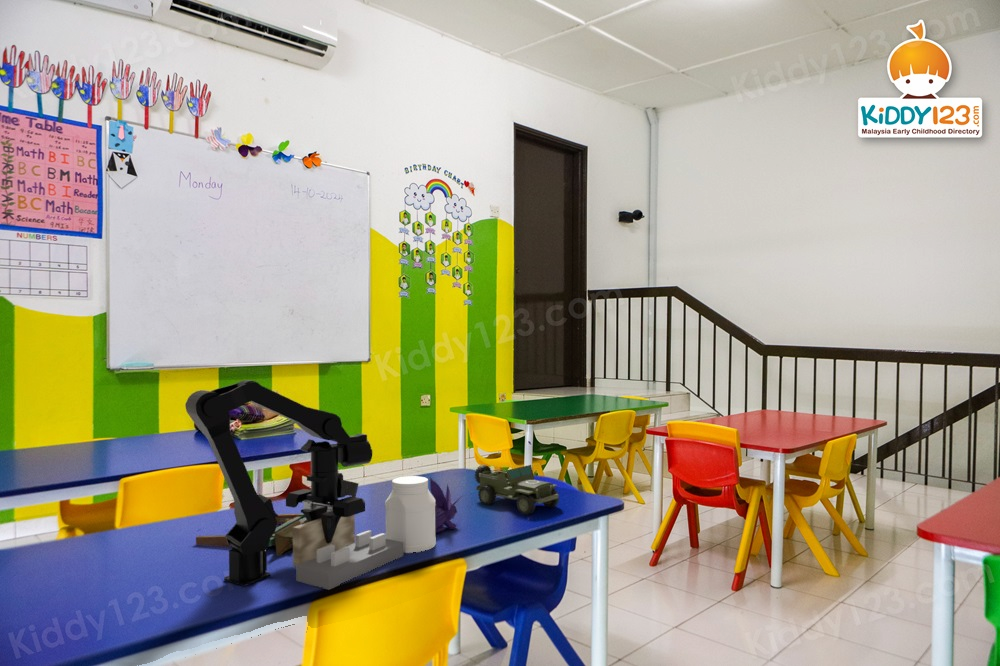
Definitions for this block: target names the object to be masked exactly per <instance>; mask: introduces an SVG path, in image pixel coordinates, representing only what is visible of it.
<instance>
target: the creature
mask: <svg viewBox="0 0 1000 666" xmlns="http://www.w3.org/2000/svg"><path fill="white" fill-rule="evenodd" d="M429 481H430V483H429V486H430V493H431V494H432V496H433V497H434V498H435V534H436V533H437V534H438V533H440V532H443V531H445V529H446V528H447V529H449V530H454V529H456V528H457V526H459V524H458V523H454V522H452V521H451V520H453V519H455V516H456V514H458V510H457V508H456V506H455V505H456V504H457V503H458V501H459V500H461V498H463V495H464V494H462V495H461V496H460V497H458V498H457V499H456V500H454V501H451V500H452V498H451V497H452V495H451V491H450V488H449V485H448V484H449V483H447V484H446V490H445V491H446V492H445V493H444V491H443V490H442V488H441V486H440V485H439V484H438V482H436V481H435V480H434V478H432V477H431V476H429Z"/></svg>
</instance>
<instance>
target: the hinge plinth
mask: <svg viewBox="0 0 1000 666" xmlns="http://www.w3.org/2000/svg"><path fill="white" fill-rule="evenodd" d="M372 532H373V531H372V530H370V529H369V530H366V531H362V532H360V533H358V534H355V543H353V544H351V545H348V546H346V547H343V548H340V549H338V550H335V545H333V544H331V545H328V546H325V547H323V548H320V549H317V558H315V559H312V560H310V561H307V562H304V563H302V564H299V565H297V566H295V573H296V574H295V578H296V579H295V581H296V582H299V583H303V584H306V585H310V586H313V587H317V586H318V588H321V587H323V588H322V589H325V590H328V591H329V590H332V589H334V588H336V587H338V586H341V585H342V584H341V583H343V582H345V581H347V580H349V581H351V580H350V579H352V578H354V577H356V578H358V577H360V576H362V575H361V574H363V575H365V574H367V573H369V572H371V570H372V571H373V569H374V570H376V569H378V568H380V567H382V565H383V566H384V564H385V565H387V564H389V563H391V562H393V560H394V561H395V559H396V560H399V559H401V558H403V557H404V552H403V542H399V541H394V540H389V539H386V533H383V532H381V533H378V534H375V535H372V534H373V533H372ZM390 561H391V562H390ZM388 562H389V563H388ZM386 563H387V564H386ZM377 567H378V568H377ZM375 568H376V569H375ZM368 571H369V572H368ZM366 572H367V573H366ZM364 573H365V574H364ZM359 575H360V576H359ZM357 576H358V577H357ZM354 579H355V578H354ZM352 580H353V579H352ZM347 582H348V581H347ZM345 583H346V582H345ZM340 584H341V585H340ZM343 584H344V583H343Z"/></svg>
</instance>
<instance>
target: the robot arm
mask: <svg viewBox="0 0 1000 666" xmlns="http://www.w3.org/2000/svg"><path fill="white" fill-rule="evenodd" d="M247 403H252V404H254V405H257V406H259V407H260V408H263V409H266V410H267V411H269V412H272V413H274V414H276V415H279V416H280V417H283V418H285V419H288V420H290V421H291V422H293V423H294V424H295V425H297V426H298V427H299V428H300V429H301V430H303V431H304V432H306V433H307V434H309V435H310V436H312V437H314V438H318V439H322V441H317V442H316V441H315V440H314V439H308V440H307V441H306V442H305V443H304V444H303V445H302V446H301V447H300V450H301V451H303V452H306V453H310V475H306V481H307V482H310V489H307V488H302V489H299V490H294V491H291V492H288V493H287V496H286V497H285V507H288V508H297V506H298V505H299V503H302V504H303V507H302V509H300V514H304V515H305V517H306V519H307V520H308V522H310V521H314V520H317V519H320V518H321V521H322V526H323V531H324V535H325V539H326V542H327V543H331V542H332V539H333V536H334V533H335V530H336V527H337V524H338V522H339V520H340V518H341V517H349V516H352V515H355V516H356V515H358V514H361V513H363V512H366V501H365V500H364V498H362V497H358V496H357V492H358V488H359V485H360V483H357V482H353V481H350V480H345V479H344V475H343V473H341V472H339V464H340V465H341V466H342V467H343V468H346V467H348V468H349V467H353V466H359V465H360V466H361V465H366V464H369V463H370V462H371V461H372V459H373V449H372V446H371V444H370V441H369V440H368V434H366V433H357V434H355V435H349V434H348V433H347V431H346V429H344V426H343V425H342V424H343V423H342V419H341V417H340V416H339V415H337V414H335V413H332V412H328V411H325V410H321V409H316V408H312V407H308V406H306V405H303V404H302V403H300V402H298V401H295V400H292V399H291V398H289V397H286V396H285V395H282V394H280V393H279V392H276V391H273V390H272V389H270V388H268V387H265V386H263V385H261V384H260V383H259V382H257V381H255V380H249V379H243V380H241V381H239V382H236V383H233V384H230V385H226V386H223V387H219V388H215V389H213V390H210V391H209V390H205V389H204V390H202V389H200V390H196V391H194V392H192V393H191V394H190V395H189V396H188V398H187V400H186V402H185V410H186V413H187V414H188V416H189V418H191V420H192V422H193V423H194V424H195V426H196V427H197V428H198V430H200V432H201V433H202V434H203V435H204V436H205V438H206V439H207V441H208V443H209V445H210V448H211V450H212V452H213V455H214V457H215V459H216V461H217V464H218V467H219V468H220V471H221V473H222V475H223V478H224V480H225V482H226V485H227V486H228V489H229V491H230V495H231V496H232V498H233V501H234V503H233V504H234V505H233V506H234V511H233V512H234V517H235V524H234V525H233V526H232V527H231V529H230V530H229V531H228V532H227V533H226V534H225V535H226V536H225V538H226V540H227V543H228V545H231V546H230V547H232V548H231V549H228V550H229V551H228V575H226V576H224V577H223V580H224V581H225V582H229V583H234V584H236V585H241V586H244V587H245V586H247V585H251V584H253V583H256V582H258V581H259V582H260V581H261V580H263V579H265V578H266V579H267V578H269V577H271V575H272V573H271V572H268V565H267V564H268V551H267V549H268V547H269V546H268V544H269V541H270V538H271V536H272V535H273V534H274V532H275V530H276V528H277V527H278V524H277V520H276V518H275V517H279V516H278V515H277V514H278V513H276V511H275V509H274V504H273V501H272V499H271V498H269V497H267V496H265V495H262V494H261V493H259V494H258V493H257V491H256V488H255V486H254V484H253V482H252V479H251V477H250V474H249V472H248V470H247V467H246V465H245V463H244V460H243V458H242V456H241V453H240V451H239V448H238V446H237V444H236V442H235V439H234V437H233V434H232V432H231V415H230V412H232V411H234V410H236V409H238V408H240V407H242V406H243V405H246V404H247ZM323 440H324V441H323ZM329 441H331V442H335V443H332V444H331V443H330V442H329ZM346 496H348V497H346ZM339 498H340V499H339Z"/></svg>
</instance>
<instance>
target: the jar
mask: <svg viewBox="0 0 1000 666" xmlns="http://www.w3.org/2000/svg"><path fill="white" fill-rule="evenodd" d="M391 489H392V490H391V492H390V494H389V496H387V497H386V498H387V499H386V500H385V501H384V509H385V534H386V539H389V540H394V541H399V542H403V554H414V553H413V552H416V553H421V551H422V552H426V551H428V550H432V548H434V547H435V546H436V544H437V541H436V540H437V539H436V538H437V537H436V533H435V505H436V504H435V498H434V497H433V496H432V494H431V490H429V479H428V478H427V477H424V476H417V475H416V476H415V475H414V476H411V475H410V476H408V475H407V476H399V477H397V478H394V479H392V480H391ZM425 550H426V551H425Z"/></svg>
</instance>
